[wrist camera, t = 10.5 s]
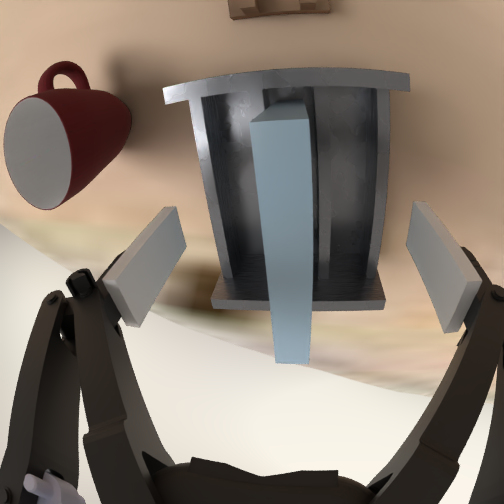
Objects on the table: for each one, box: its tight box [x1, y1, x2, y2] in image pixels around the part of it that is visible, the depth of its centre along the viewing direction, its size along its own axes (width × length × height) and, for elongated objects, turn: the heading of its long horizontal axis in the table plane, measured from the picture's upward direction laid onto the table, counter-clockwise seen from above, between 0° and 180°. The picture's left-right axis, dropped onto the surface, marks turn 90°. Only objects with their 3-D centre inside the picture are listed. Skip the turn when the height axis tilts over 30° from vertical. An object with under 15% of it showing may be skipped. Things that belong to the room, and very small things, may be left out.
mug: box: [4, 61, 131, 210], centre depth 16 cm, size 10×8×10 cm
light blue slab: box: [249, 99, 313, 364], centre depth 16 cm, size 12×2×12 cm, turn 7°
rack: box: [163, 68, 410, 311], centre depth 19 cm, size 16×13×7 cm
